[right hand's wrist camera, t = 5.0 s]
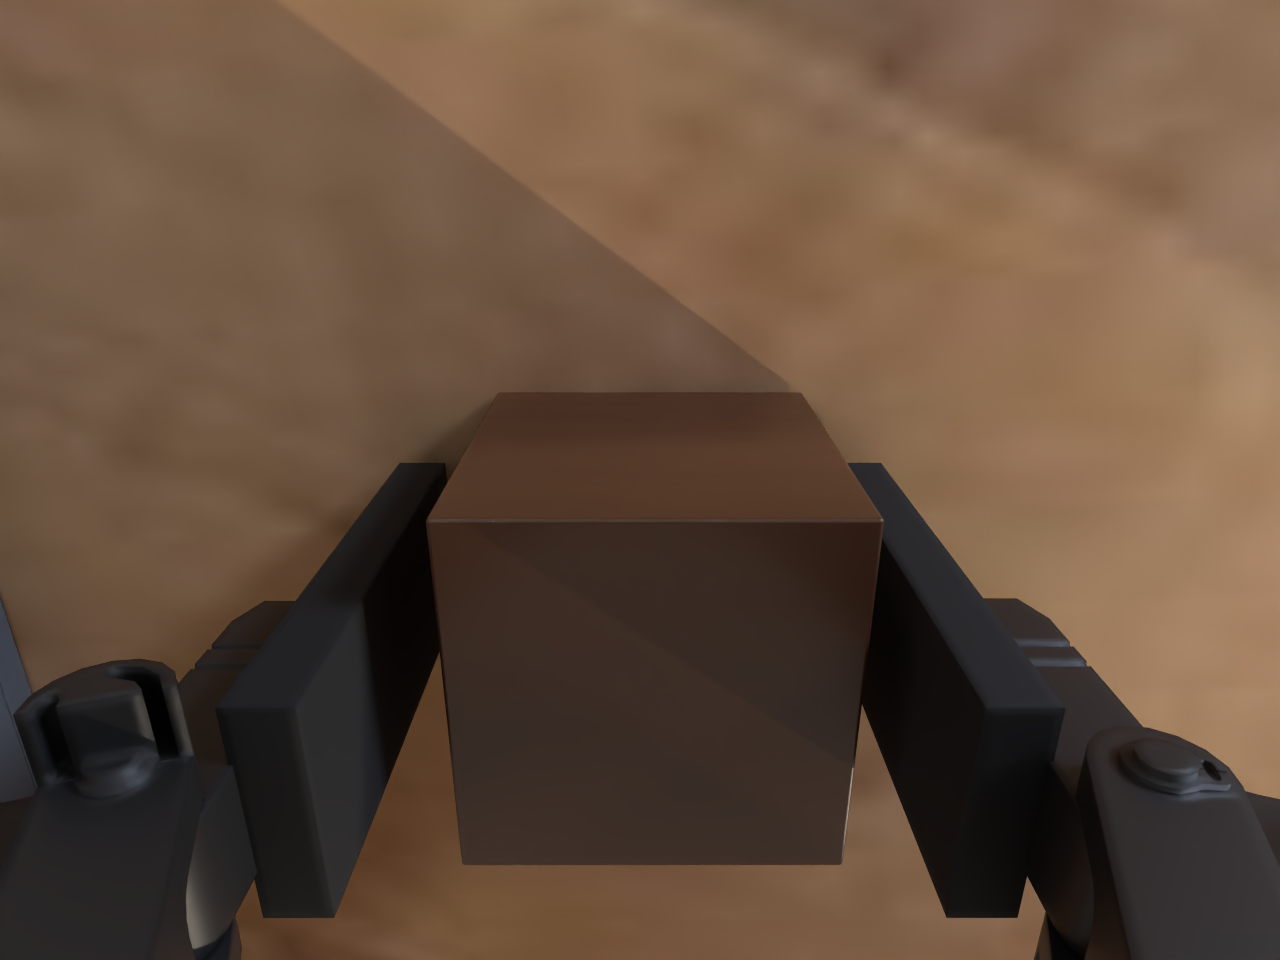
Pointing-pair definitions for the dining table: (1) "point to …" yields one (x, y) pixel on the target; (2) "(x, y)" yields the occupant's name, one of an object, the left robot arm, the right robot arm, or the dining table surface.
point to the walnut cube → (653, 630)
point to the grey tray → (12, 720)
